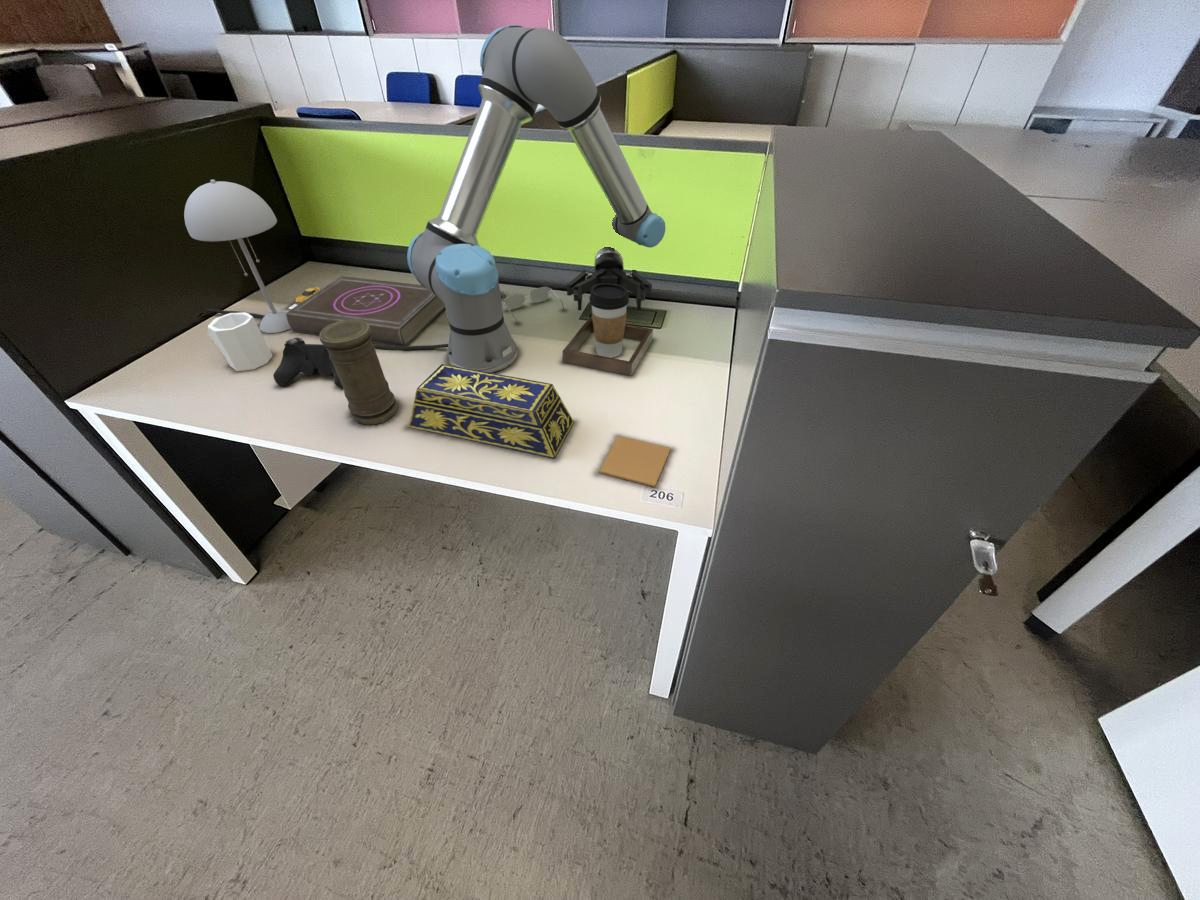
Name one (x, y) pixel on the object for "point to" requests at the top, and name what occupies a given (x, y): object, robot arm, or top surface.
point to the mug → (239, 341)
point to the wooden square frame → (606, 362)
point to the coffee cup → (609, 317)
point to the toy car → (305, 296)
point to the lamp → (233, 228)
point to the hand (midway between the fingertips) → (609, 304)
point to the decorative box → (492, 410)
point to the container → (359, 371)
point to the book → (369, 308)
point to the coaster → (635, 461)
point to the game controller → (304, 362)
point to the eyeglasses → (519, 299)
